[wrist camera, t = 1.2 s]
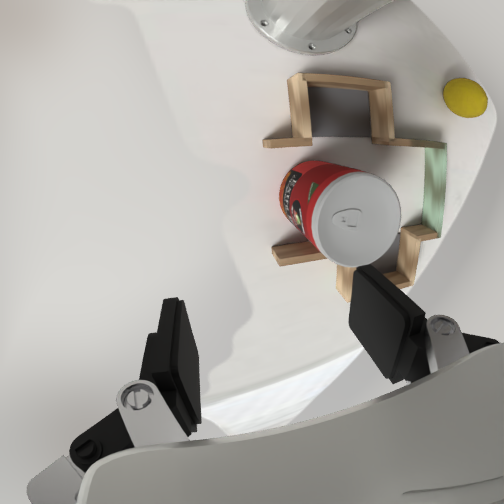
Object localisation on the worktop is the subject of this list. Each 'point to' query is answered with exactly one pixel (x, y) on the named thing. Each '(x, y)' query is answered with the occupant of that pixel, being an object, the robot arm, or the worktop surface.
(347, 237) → the canned food
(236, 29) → the worktop surface
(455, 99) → the lemon
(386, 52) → the worktop surface
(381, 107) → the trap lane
